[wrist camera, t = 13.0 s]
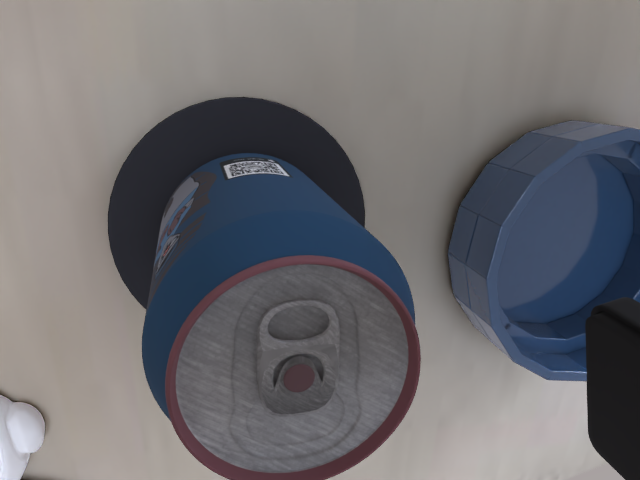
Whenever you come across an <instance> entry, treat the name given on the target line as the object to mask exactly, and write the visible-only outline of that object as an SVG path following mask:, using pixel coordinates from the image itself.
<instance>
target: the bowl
mask: <svg viewBox="0 0 640 480" xmlns="http://www.w3.org/2000/svg"><path fill="white" fill-rule="evenodd" d="M460 205H461V206H459V209H458V213H457V217H456V221H455V225H454V229H453V233H452V237H451V241H450V245H449V249H448V258H449V266H450V273H451V281H452V288H453V294H454V296H455V298H456V300H457V301H458V303H459V304H460V306H461V307H462V309H463V310H464V312H465V313H466V315H467V316H468V318H469V319H470V321H471V323H472V324H473V326H474V327H475V328H476V329H478V330H479V331H480V332H481V333H482V334H483V335H484V336H485V337H487V338H488V339H489V340H490V341H491V342H492V343H493V344H494V345H495V346H497V347H498V348H499V349H500V350H501V351H502V352H503V353H504V354H506V355H507V356H508V357H509V358H510V359H511V360H512V361H513V362H515V363H517V364H519V365H520V366H522V367H524V368H526V369H528V370H530V371H532V372H533V373H535V374H537V375H539V376H541V377H543V378H544V379H546V380H561V381H587V369H586V333H585V324H586V320H587V318H588V317H590V316H591V311H592V309H593V308H594V307H595V306H597V305H600V304H603V303H607V302H610V301H613V300H616V299H619V298H622V297H628V298H631V299H634V300H636V301H637V302H639V303H640V129H635V128H630V127H622V126H615V125H607V124H599V123H591V122H584V121H576V120H570V121H567V122H563V123H559V124H556V125H552V126H548V127H545V128H541V129H537V130H533V131H530V132H528V133H526V134H525V135H524V136H522V137H521V138H520V139H518V140H517V141H516V142H514V143H513V144H512V145H510V146H509V147H508V148H506V149H505V150H504V151H502V152H501V153H500V154H498V155H497V156H496V157H494V158H493V159H492V160H490V161H489V163H487V165H486V166H485V168H484V169H483V171H482V172H481V174H480V175H479V177H478V178H477V180H476V181H475V183H474V184H473V186H472V187H471V189H470V190H469V192H468V193H467V195H466V196H465V198H464V199H463V201H462V202H461V204H460Z"/></svg>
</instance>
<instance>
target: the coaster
mask: <svg viewBox="0 0 640 480" xmlns="http://www.w3.org/2000/svg"><path fill="white" fill-rule="evenodd" d="M240 153H256V154H263V155H268V156H272V157H276V158H278V159H281V160H283V161H286V162H288V163H289V164H291V165H293V166H295V167H296V168H298V169H299V170H300V171H302V172H303V173H304V174H305V175H306V176H307V177H308V178H310V179H311V180H312V181H313V182H314V183H315V184H316V185H317V186H318V187H319V188H321V189H322V190H323V191H324V192H325V193H326V194H327V195H328V196H329V197H331V198H332V199H333V200H334V201H335V202H336V203H337V204H338V205H339V206H340V207H342V208H343V209H344V210H345V211H346V212H347V213H348V214H349V215H350V216H352V217H353V218H354V219H355V220H356V221H357V222H358V223H359V224H360V225H361V226H363V227H365V209H364V201H363V194H362V191H361V187H360V183H359V180H358V177H357V175H356V172H355V170H354V167H353V165H352V164H351V162H350V160H349V158H348V157H347V155H346V153H345V152H344V150H343V149H342V148H341V147H340V145H339V144H338V143H337V141H336V140H335V139H334V138H333V137H332V136H331V135H330V134H329V133H328V132H327V131H326V130H325V129H324V128H323V127H321V126H320V125H319V124H317V123H316V122H315V121H313V120H312V119H311V118H309V117H307V116H305V115H304V114H302V113H300V112H298V111H296V110H294V109H292V108H289V107H287V106H284V105H282V104H279V103H276V102H271V101H267V100H263V99H257V98H247V97H229V98H220V99H214V100H208V101H205V102H201V103H198V104H195V105H192V106H189V107H187V108H185V109H183V110H181V111H178V112H176V113H174V114H172V115H171V116H169V117H168V118H166V119H165V120H163V121H162V122H160V123H159V124H157V125H156V126H155V127H154V128H153V129H152V130H150V131H149V132H148V133H147V134H146V135H145V136H144V137H143V138H142V139H141V140H140V142H139V143H138V144H137V145H136V146H135V147H134V148H133V150H132V151H131V153H130V154H129V156H128V157H127V159H126V161H125V162H124V164H123V165H122V168H121V170H120V172H119V174H118V176H117V178H116V181H115V184H114V187H113V190H112V194H111V197H110V204H109V211H108V235H109V242H110V248H111V252H112V255H113V258H114V262H115V265H116V267H117V269H118V271H119V273H120V276H121V278H122V280H123V281H124V283H125V284H126V286H127V287H128V289H129V291H130V292H131V294H132V295H133V296H134V297H135V298H136V299H137V300H138V302H139V303H140V304H141V305H142V306H143V307H144V308H145V309H146V310H147V304H148V298H149V292H150V286H151V280H152V274H153V268H154V262H155V256H156V250H157V244H158V238H159V232H160V226H161V221H162V217H163V213H164V210H165V208H166V205H167V203H168V201H169V199H170V197H171V196H172V194H173V193H174V191H175V190H176V188H177V187H178V186H179V185H180V184H181V182H182V181H183V180H184V179H185V178H186V177H187V176H188V175H190V174H191V173H192V172H193V171H195V170H196V169H198V168H199V167H201V166H202V165H204V164H206V163H208V162H210V161H212V160H215V159H217V158H220V157H224V156H228V155H232V154H240Z"/></svg>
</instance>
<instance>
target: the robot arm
mask: <svg viewBox="0 0 640 480" xmlns="http://www.w3.org/2000/svg"><path fill="white" fill-rule="evenodd" d="M585 333H586V369H587V406H588V434H589V438H590V441H591V443H592V445H593V447H594V448H595V450H596V451H597V452H598V453H599V454H600V455H601V456H602V457H603V458H604V459H605V460H606V461H607V462H608V463H609V464H610V465H611V466H612V467H613V468H614V469H615V470H616V471H617V472H618V473H619V474H620V475H621V476H622V477H623V478H624V479H625V480H640V303H639V302H637V301H636V300H634V299H631V298H628V297H622V298H619V299H616V300H613V301H610V302H607V303H603V304H600V305H597V306H595V307H594V308H593V309H592V311H591V316H590V317H588V318H587V320H586V324H585Z"/></svg>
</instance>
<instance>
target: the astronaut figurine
mask: <svg viewBox="0 0 640 480" xmlns="http://www.w3.org/2000/svg"><path fill="white" fill-rule="evenodd" d="M44 435H45V422H44V419H43V417H42V415H41V413H40V412H39V411H38V410H37V409H36V408H35V407H33V406H32V405H29V404H27V403H23V402H12V401H10V400H9V399H8V398H6V397H4V396H2V395H0V480H20V479H21V477H22V475H23V473H24V471H25V469H26V466H27V464H28V461H29V457H30V453H34V452H36V451H37V450H39V448H40V447H41V446H42V444H43V441H44Z"/></svg>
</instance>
